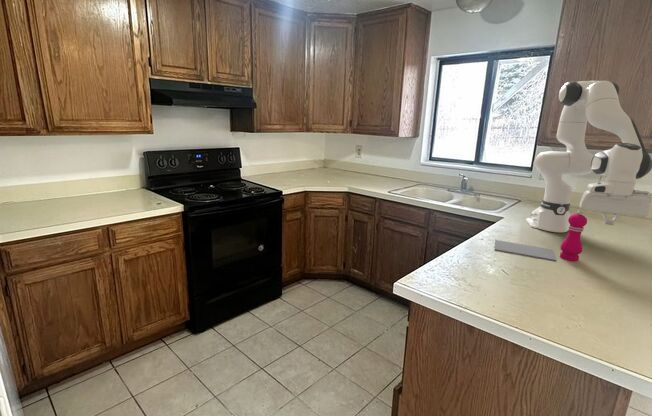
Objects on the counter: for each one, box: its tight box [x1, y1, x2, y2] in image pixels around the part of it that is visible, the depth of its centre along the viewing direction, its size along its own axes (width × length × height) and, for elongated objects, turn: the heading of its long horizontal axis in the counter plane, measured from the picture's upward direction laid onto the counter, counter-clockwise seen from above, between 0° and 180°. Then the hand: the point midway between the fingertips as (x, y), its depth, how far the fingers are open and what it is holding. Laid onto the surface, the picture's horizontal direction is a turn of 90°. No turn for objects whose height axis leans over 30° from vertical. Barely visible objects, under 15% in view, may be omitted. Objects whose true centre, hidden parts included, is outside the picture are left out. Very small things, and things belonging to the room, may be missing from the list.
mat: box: [494, 239, 557, 262], centre depth 147 cm, size 22×13×1 cm, turn 64°
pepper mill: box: [559, 210, 588, 263], centre depth 138 cm, size 7×7×20 cm
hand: (608, 224), depth 132 cm, fingers closed
